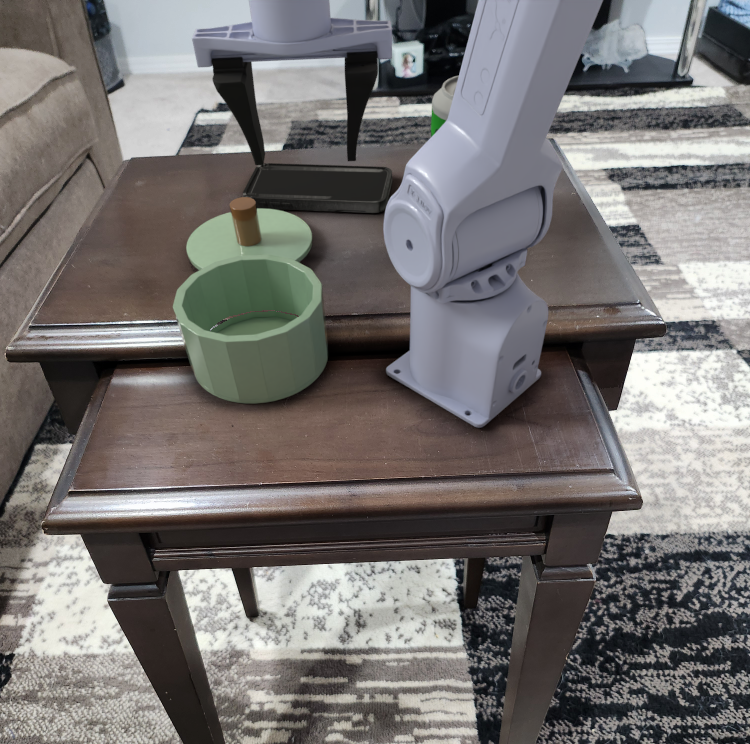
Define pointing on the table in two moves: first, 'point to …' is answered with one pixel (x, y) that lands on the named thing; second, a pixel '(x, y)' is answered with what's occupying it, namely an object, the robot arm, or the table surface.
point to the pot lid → (249, 235)
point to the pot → (253, 327)
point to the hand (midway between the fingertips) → (305, 157)
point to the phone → (320, 187)
